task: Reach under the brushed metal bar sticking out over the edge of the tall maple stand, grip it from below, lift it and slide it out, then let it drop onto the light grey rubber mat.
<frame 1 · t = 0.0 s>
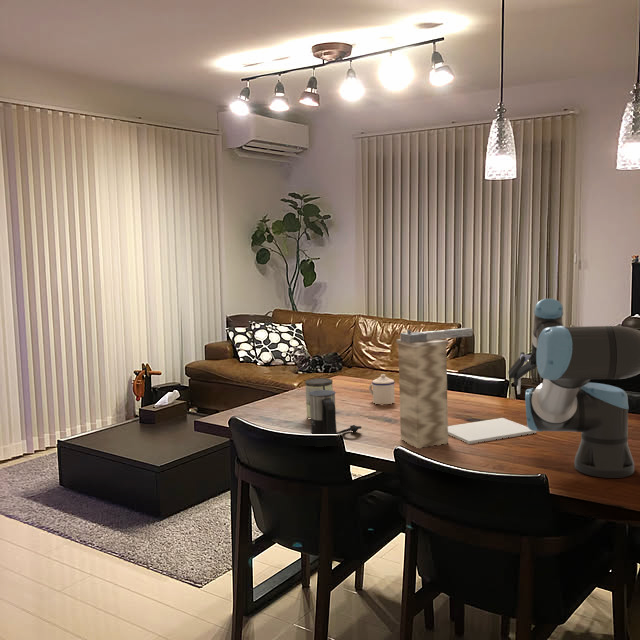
hand: (540, 391, 213), 15 cm above the table, tool tilted 35°, fingers open, 13 cm apart
brushed metal bar: (438, 338, 214), point 33 cm above the table, touching tool stand
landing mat: (486, 431, 224), on the table
coffee can: (320, 418, 251), on the table
teacup with lid: (381, 403, 271), on the table
tool stand: (424, 441, 216), on the table
milk frother: (335, 435, 228), on the table
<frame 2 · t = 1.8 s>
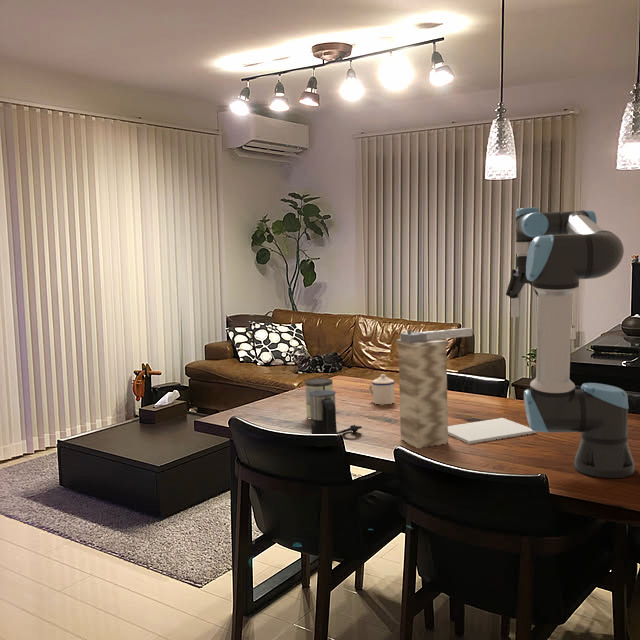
hand: (528, 319, 224), 37 cm above the table, tool pointing down, fingers open, 13 cm apart
nothing on the table moved.
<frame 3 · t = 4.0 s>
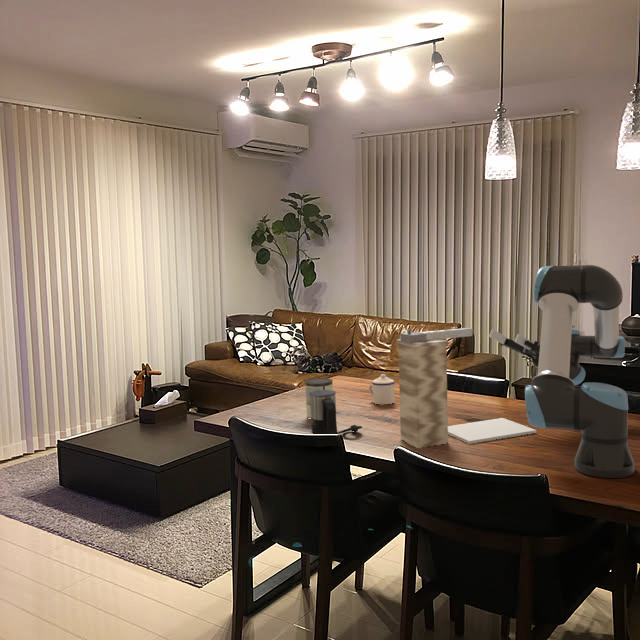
hand: (503, 335, 223), 32 cm above the table, tool pointing upward, fingers open, 13 cm apart
nothing on the table moved.
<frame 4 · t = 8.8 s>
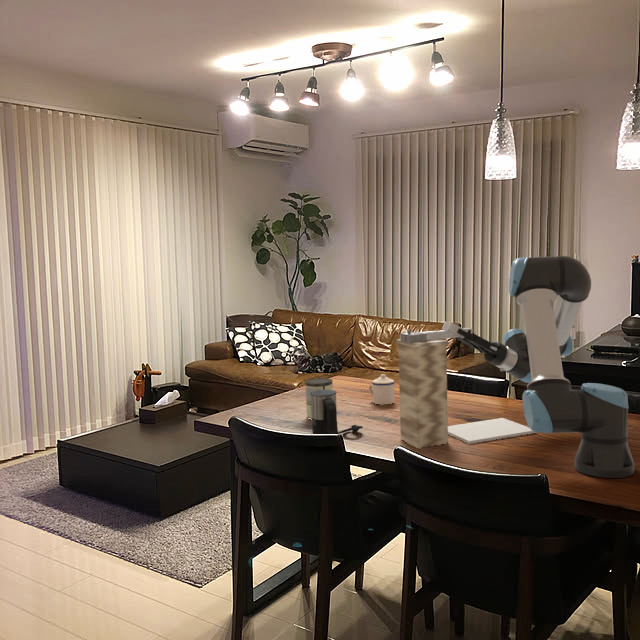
hand: (446, 325, 215), 37 cm above the table, tool pointing upward, fingers closed on brushed metal bar, 2 cm apart
brushed metal bar: (438, 338, 214), point 33 cm above the table, touching gripper, tool stand
everything else where it was.
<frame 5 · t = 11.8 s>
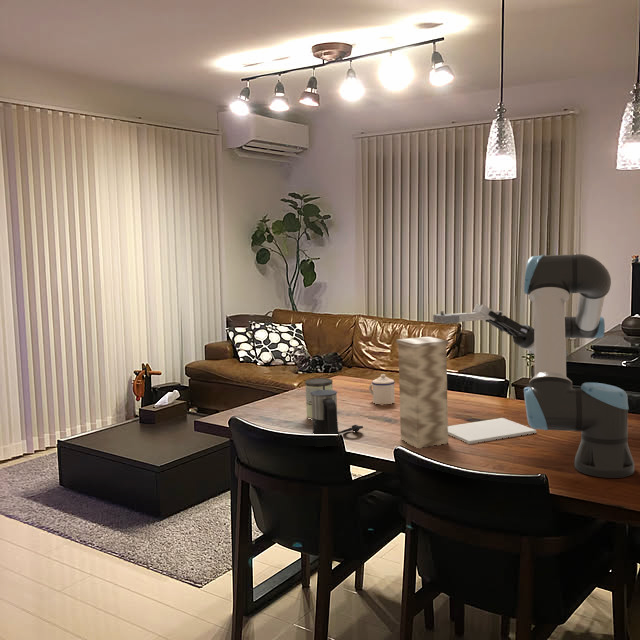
hand: (478, 307, 219), 42 cm above the table, tool pointing upward, fingers closed on brushed metal bar, 2 cm apart
brushed metal bar: (469, 320, 219), point 38 cm above the table, touching gripper
everything else where it was.
when the fingers open (28 cm above the table, at t = 15.1 s): brushed metal bar drops 23 cm, resting on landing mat.
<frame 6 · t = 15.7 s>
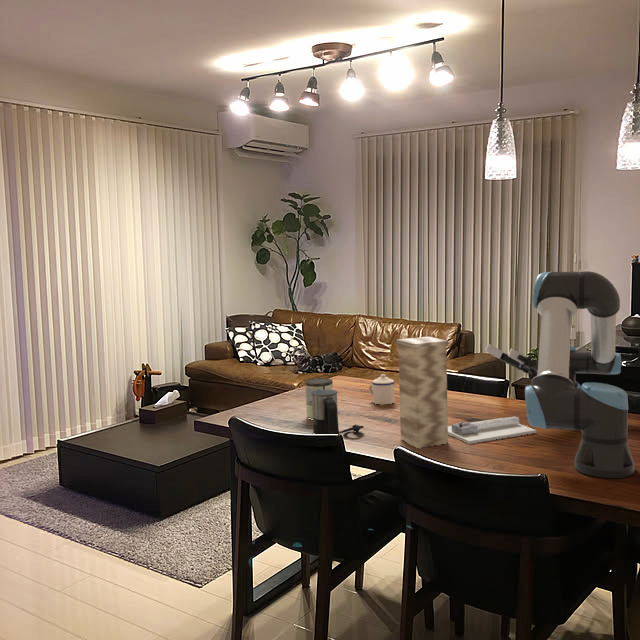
hand: (498, 349, 223), 27 cm above the table, tool pointing upward, fingers open, 12 cm apart
brushed metal bar: (487, 428, 224), point 1 cm above the table, touching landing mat
everything else where it was.
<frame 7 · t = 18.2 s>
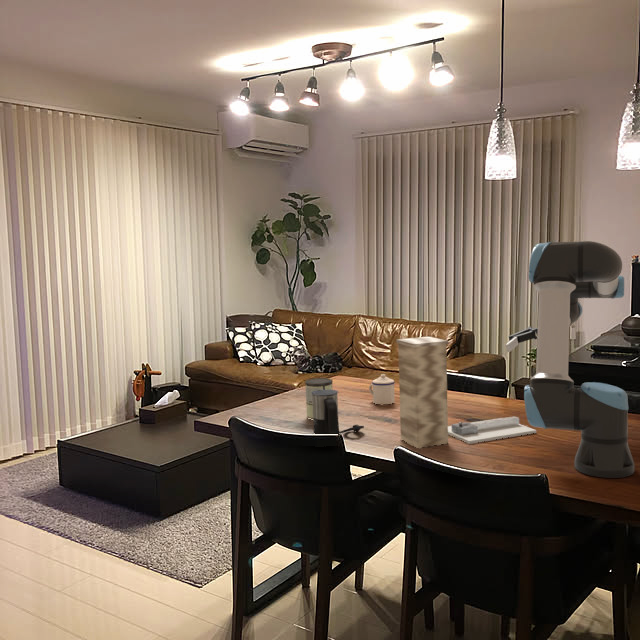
hand: (526, 348, 215), 29 cm above the table, tool tilted 75°, fingers open, 13 cm apart
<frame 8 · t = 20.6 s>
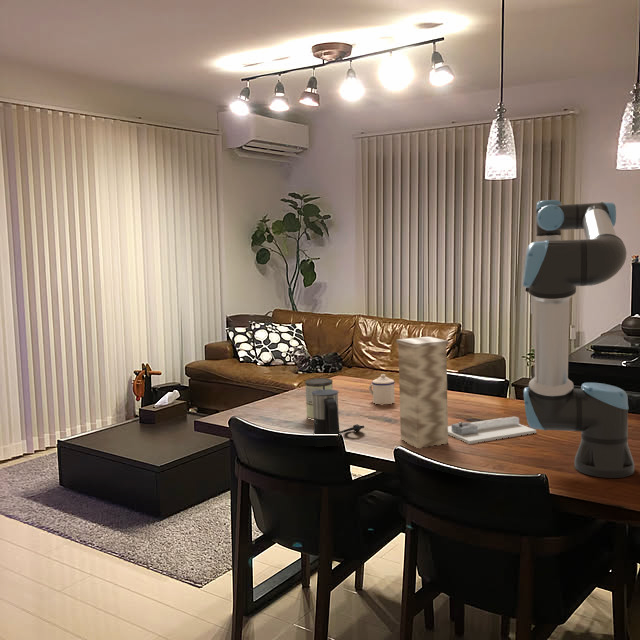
hand: (548, 315, 217), 39 cm above the table, tool pointing down, fingers open, 13 cm apart
at the end: brushed metal bar 0.3 cm from the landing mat (horizontally); brushed metal bar point 1.0 cm above the table; the gripper is holding nothing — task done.
